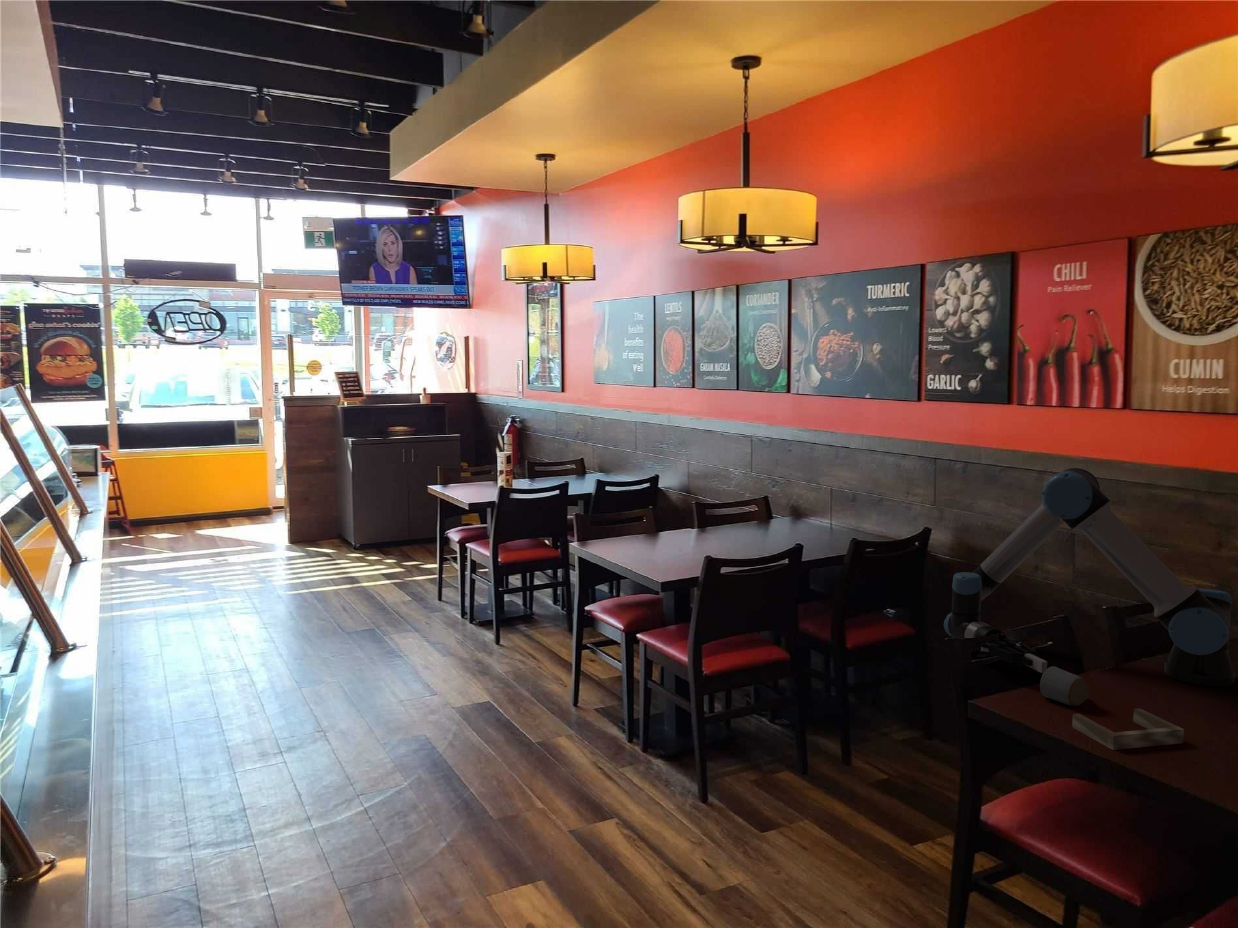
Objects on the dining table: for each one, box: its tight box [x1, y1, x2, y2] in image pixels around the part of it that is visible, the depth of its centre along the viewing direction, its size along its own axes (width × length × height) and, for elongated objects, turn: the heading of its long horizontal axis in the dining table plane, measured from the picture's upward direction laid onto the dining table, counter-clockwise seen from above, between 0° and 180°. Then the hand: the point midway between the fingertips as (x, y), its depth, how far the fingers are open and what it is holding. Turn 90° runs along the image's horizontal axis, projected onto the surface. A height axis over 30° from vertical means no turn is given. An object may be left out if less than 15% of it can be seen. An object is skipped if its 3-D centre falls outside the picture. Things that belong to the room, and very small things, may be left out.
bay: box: [1071, 707, 1185, 751], centre depth 188 cm, size 17×12×3 cm
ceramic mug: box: [1039, 665, 1090, 707], centre depth 208 cm, size 11×8×8 cm
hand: (1044, 667), depth 213 cm, fingers closed
